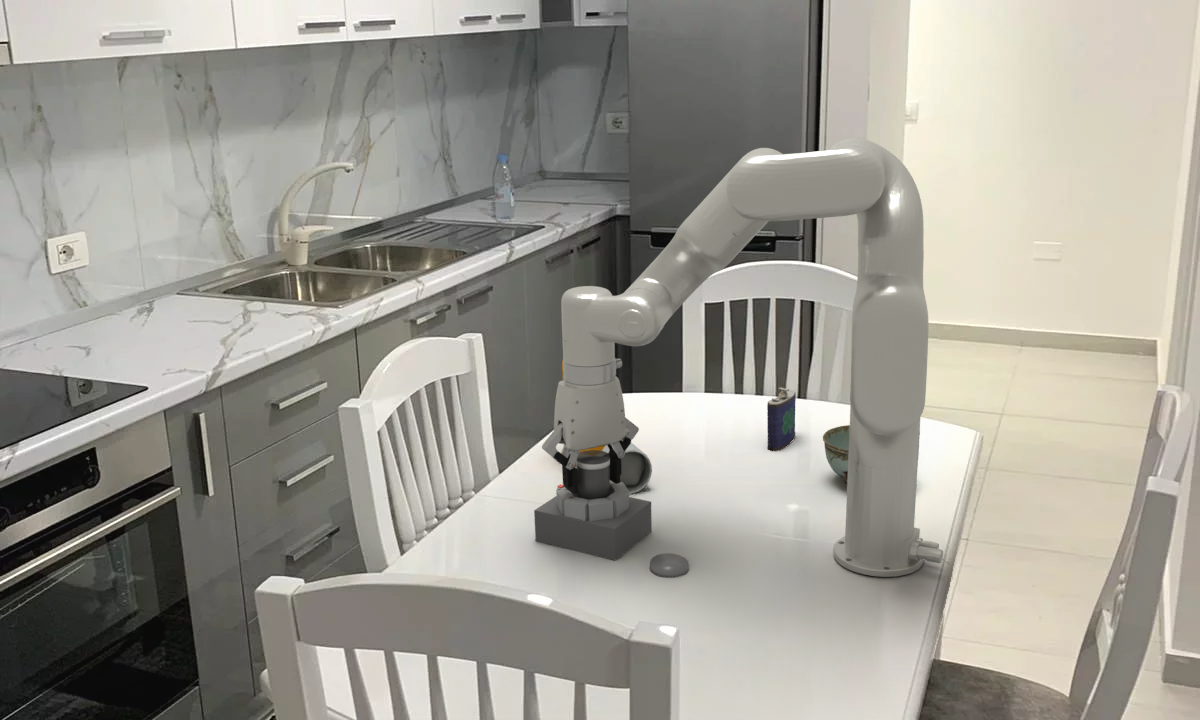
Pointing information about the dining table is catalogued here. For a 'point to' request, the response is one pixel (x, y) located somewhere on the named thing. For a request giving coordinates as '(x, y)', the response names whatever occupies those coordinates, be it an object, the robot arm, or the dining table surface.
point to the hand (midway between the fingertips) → (592, 484)
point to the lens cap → (669, 565)
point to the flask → (781, 420)
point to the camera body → (594, 522)
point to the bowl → (838, 450)
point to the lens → (593, 474)
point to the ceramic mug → (634, 468)
